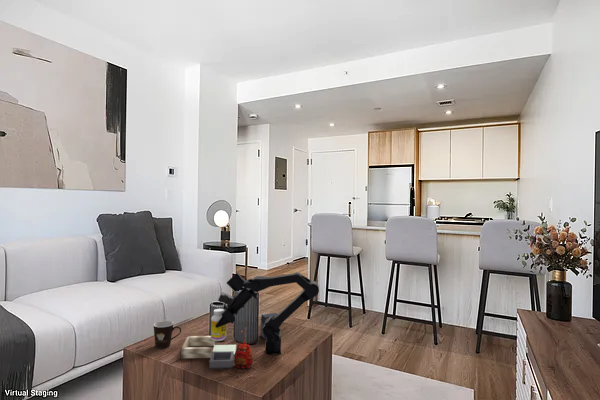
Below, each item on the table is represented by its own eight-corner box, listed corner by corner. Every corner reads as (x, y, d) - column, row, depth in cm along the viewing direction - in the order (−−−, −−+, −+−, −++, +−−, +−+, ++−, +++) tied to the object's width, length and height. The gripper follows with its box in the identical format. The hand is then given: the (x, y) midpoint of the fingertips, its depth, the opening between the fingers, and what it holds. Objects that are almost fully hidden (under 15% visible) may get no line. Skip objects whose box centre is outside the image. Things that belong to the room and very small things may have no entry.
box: (264, 339, 174) (265, 317, 174) (260, 335, 179) (260, 314, 179) (279, 336, 178) (279, 315, 177) (274, 332, 182) (275, 312, 182)
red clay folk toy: (231, 368, 143) (232, 331, 143) (237, 360, 150) (238, 325, 150) (249, 370, 142) (250, 333, 142) (254, 362, 149) (256, 327, 149)
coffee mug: (148, 347, 160) (149, 325, 160) (162, 340, 168) (163, 319, 168) (168, 352, 156) (169, 329, 156) (182, 345, 164) (182, 323, 164)
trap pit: (233, 358, 152) (233, 351, 152) (232, 368, 143) (232, 360, 143) (212, 358, 151) (212, 351, 151) (209, 368, 142) (209, 361, 142)
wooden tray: (214, 344, 166) (215, 335, 166) (211, 357, 152) (211, 348, 152) (187, 344, 164) (187, 336, 164) (181, 358, 150) (181, 349, 150)
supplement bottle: (222, 342, 155) (222, 313, 155) (208, 341, 156) (208, 311, 156) (228, 336, 162) (228, 308, 162) (214, 335, 163) (215, 307, 163)
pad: (236, 345, 165) (236, 344, 165) (235, 355, 155) (235, 354, 155) (214, 346, 164) (214, 345, 164) (211, 355, 154) (211, 354, 154)
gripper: (230, 281, 169) (206, 305, 167) (227, 292, 150) (200, 318, 149) (247, 297, 170) (223, 321, 168) (246, 310, 151) (219, 336, 150)
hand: (216, 324), depth 159 cm, fingers closed on supplement bottle, 7 cm apart
